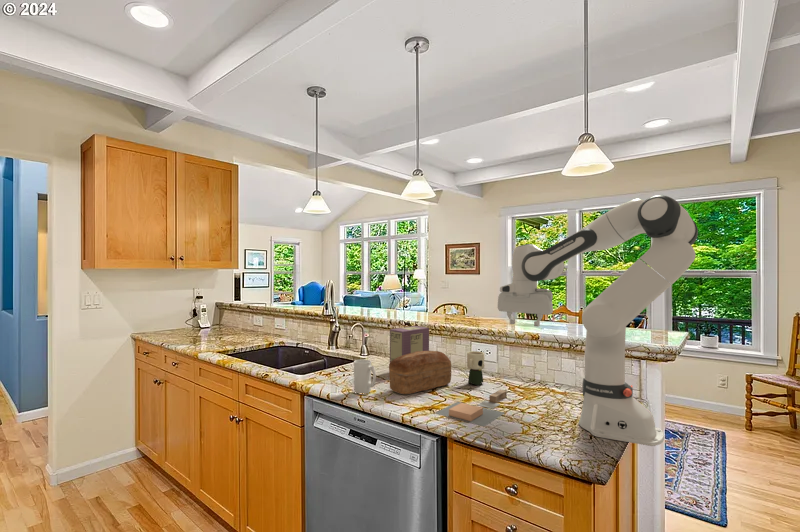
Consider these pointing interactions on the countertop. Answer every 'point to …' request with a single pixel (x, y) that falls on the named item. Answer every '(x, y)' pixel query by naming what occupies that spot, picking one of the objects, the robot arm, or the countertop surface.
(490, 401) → the turner
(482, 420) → the gray rectangular plate
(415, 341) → the box
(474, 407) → the block
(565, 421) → the countertop surface
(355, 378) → the mug
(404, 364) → the bread
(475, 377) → the character mug
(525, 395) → the countertop surface
